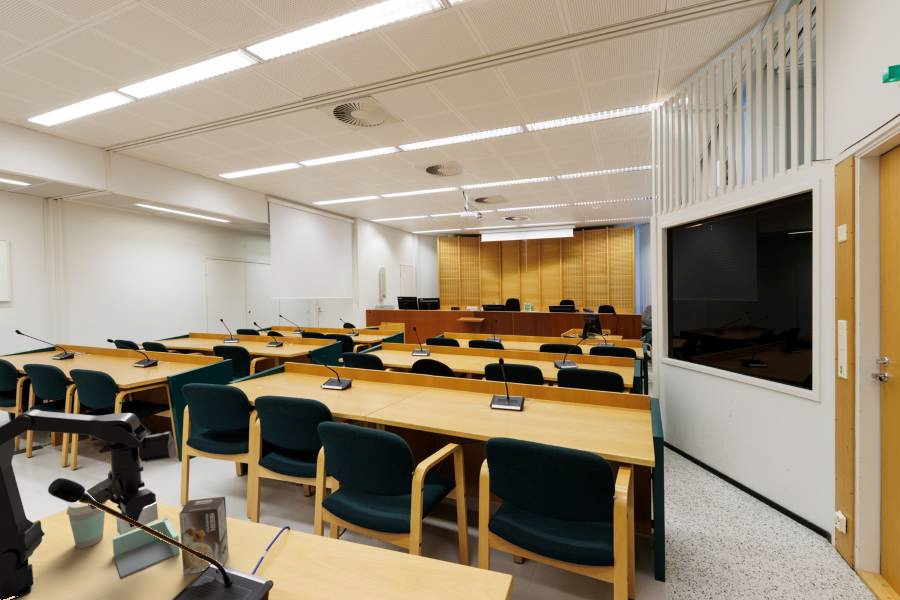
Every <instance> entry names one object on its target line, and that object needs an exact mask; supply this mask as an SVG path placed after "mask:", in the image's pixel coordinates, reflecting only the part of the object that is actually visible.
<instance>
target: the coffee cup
mask: <svg viewBox="0 0 900 600" xmlns="http://www.w3.org/2000/svg"><path fill="white" fill-rule="evenodd" d="M107 502H108V500H107V501H106V502H104V503H103V504H105V506H106V504H107ZM66 515H67V516H68V519H69V523H70V527H71V532H72V536H73V539H74V544H75V548H80V549H82V548H87V547H91V546H93V545H95V544H97V543H99V542H100V541H102V540H103V538H104V530H105V528H104V527H105V515H106V511H105V512H104V511H101V510H99V509H97V508H95V509H91V507H90V506H89V505H86V504H70V503H69V504H68V507H67V508H66Z"/></svg>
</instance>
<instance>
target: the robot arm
mask: <svg viewBox="0 0 900 600" xmlns="http://www.w3.org/2000/svg"><path fill="white" fill-rule="evenodd" d="M27 431H32V432H46V433H60V434H70V435H71V434H73V435H85V436H90V437H93V438H95V439H97V440H99V441H103V442H105V443H104V445H103V446H102V447H101V448H100V449H99V450H98V453H99V454H103V453H108V452H109V456H110V457H109V458H110V467H111V468H110V469H111V470H109V471H108V473H107V478H106V479H104V480H101V481H100V482H98V483H96V484H95V485H93V486H92V487H90V488H89V489H87V490H86V491H87V492H88V493H89V494H90V495H91V496H92V497H93V498H94V499H95V500H96V501H97V502H99V503H101V504H103V503H104V502H106V501H107V502H108V501H110V502H112V503H113V504H116V507H117V508H118V509H119V510H120V513H123V512H124V513H125V514H126V516H127V517H129V518H131V519H133V520H135V521H138V519H139V516H140V514H141V512H142V510H143V508H144V507H146V506H149V505H151V504H154V503H155V502H156V503H157V498H156V497H157V494H156V493H155V492H153V491H152V490H150V489H148V488H144V489H141V488H143V487H145V482H144V481H143V480H142V472H143V471H144V466H142V465H141V462H144V463H152V462H159V461H163V460H164V461H166V460H171V459H173V458H174V456H175V452H176V451H175V450H176V440H175V439H174V437H173V435H172V431H165V432H161V433H156V434H152V431H150V430H149V429H148V428H147V427H146V426H144V424H142V423H141V421H140V419H139V417H138V416H137V415H136V414H135V413H133V412H132V413H131V412H124V413H123V412H121V413H119V412H118V413H110V414H109V413H108V414H104V415H90V414H77V413H68V412H67V413H66V412H57V411H44V410H41V409H29V410H27V411H25V412H23V413H21V414H19V415H17V416H16V417H15V418H13V419H12V420H11V421H9V422H7V423H5V424H3V425H0V599H1V600H3V599H7V598H9V597H12V596H15V597H17V596H20V597H22V596H21V595H23V596H25V595H28V594H30V593H31V591H32V587H33V585H34V572H33V564H32V563H31V564H29V558H30V557H32V555H33V553H34V552H35V550H36V549H38V548H39V546H40V545H41V543H42V541H43V537H44V536H45V534H46V533H45V532H44V531H43V529H42V522H41V520H36V521H34V522H33V521H31V520H30V519H28V518H27V516H26V513H25V508H24V505H23V501H22V497H21V494H20V491H19V487H18V482H17V479H16V475H15V471H14V467H13V464H12V462H13V459H14V455H15V451H16V438H17V437H18V436H20V435H22V434H23V433H25V432H27ZM134 434H135V435H134ZM140 460H141V461H140ZM88 505H89V504H88ZM89 506H90V507H91V509H95V508H96V507H94V506H92V505H89ZM129 525H130V527H133V526H134V525H132V524H130V523H129ZM27 593H28V594H27ZM17 598H18V597H17Z"/></svg>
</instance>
